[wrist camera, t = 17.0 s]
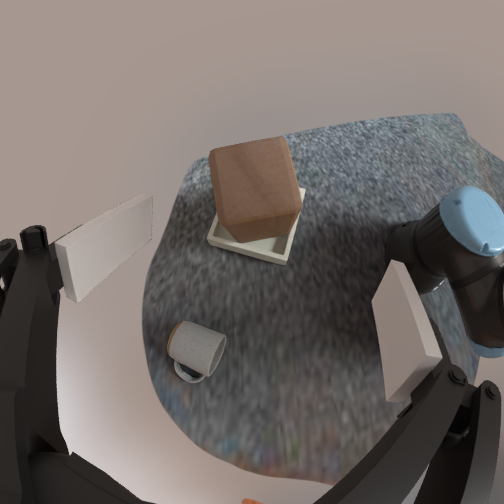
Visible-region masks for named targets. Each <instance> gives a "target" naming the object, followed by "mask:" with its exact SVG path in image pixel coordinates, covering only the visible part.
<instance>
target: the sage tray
mask: <svg viewBox="0 0 504 504" xmlns="http://www.w3.org/2000/svg"><path fill="white" fill-rule="evenodd" d="M299 190H300V194H301V199H302V202H303V198H304V194H305V190H306V189H303V188H299ZM299 214H300V213H299ZM298 218H299V215H298V217H297V219H296V221H295V223H294V225H293V227H292V229H291V231H290V233H289V234H287V235H283V236H278V237H273V238H267V239H262V240H257V241H252V242H246V243H239V242H237V240H236V239H235V238H234V237H233V236H232V235H231V234H230V233H229V232H228V231H227V230H226V229H225V228H224V227H223V225H222V224H221V223H220V221H219V220H218V216H217V212H216V215H215V218H214V220H213V223H212V226H211V228H210V231H209V234H208V236H207V240H208V242H209V244H210V245H212V246H216V247H219V248H223V249H226V250H230V251H233V252H237V253H240V254H244V255H248V256H251V257H255V258H258V259H262V260H265V261H269V262H273V263H276V264H280V265H283V266H286V263H287V260H288V256H289V252H290V249H291V245H292V241H293V237H294V234H295V230H296V226H297V222H298Z"/></svg>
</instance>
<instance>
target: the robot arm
mask: <svg viewBox="0 0 504 504" xmlns="http://www.w3.org/2000/svg"><path fill="white" fill-rule="evenodd" d="M152 208H153V195H149V194H144V193H141V194H139V195H137V196H135V197H133V198H131V199H129V200H127V201H125V202H123V203H121V204H119V205H118V206H116V207H114V208H112V209H110V210H108V211H107V212H105V213H103V214H101V215H99V216H98V217H96V218H94V219H92V220H90V221H89V222H87V223H85V224H83V225H80V226H79V227H77V228H75V229H74V230H73V231H71V232H69V233H67V234H65V235H64V236H62V237H60V238H59V239H57V240H56V241H54V242H53V243H51V244H50V245H48V240H47V233H46V228H45V227H44V226H41V225H35V226H30V227H28V228H26V229H24V230H23V231H22V232H21V233H20V238H21V243H22V248H23V250H19V249H18V248H17V243H16V240H14V239H4V240H2V241H1V242H0V278H1V277H2V279H3V282H4V285H5V286H4V288H3V289H2V288H1V286H0V504H155V503H150V502H146V501H142V500H140V499H139V498H138V497H136V496H135V495H134V494H132V493H131V492H130V491H129V490H127V489H126V488H125V487H124V486H122V485H121V484H119V483H118V482H117V481H115V480H114V479H113V478H112V477H110V476H109V475H108V474H106V473H105V472H104V471H102V470H101V469H99V468H97V467H96V466H94V465H92V464H91V463H89V462H87V461H86V460H85V459H83V458H82V457H80V456H78V455H77V454H76V453H74V452H72V454H71V455H69V452H68V448H67V445H66V442H65V440H64V438H63V436H62V433H61V430H60V425H59V416H58V403H57V387H56V386H57V384H56V347H57V327H58V314H59V305H60V293H59V290H60V289H61V288H62V287H63V286H64V289H65V293H66V296H67V298H69V299H71V300H73V301H75V302H77V303H78V302H79V301H81V300H82V299H83V298H84V297H85V296H86V295H87V294H88V293H89V292H90V291H91V290H93V289H94V288H95V287H96V286H97V285H98V284H99V283H100V282H102V281H103V280H104V279H105V278H106V277H107V276H108V275H110V274H111V273H112V272H113V271H114V270H115V269H116V268H118V267H119V266H120V265H121V264H122V263H124V262H125V261H126V260H127V259H128V258H130V257H131V256H132V255H133V254H134V253H136V251H138V250H139V249H140V248H142V247H143V246H144V245H145V244H147V243H148V242H149V241H150V240H152ZM385 260H386V265H387V270H386V273H385V275H384V277H383V279H382V281H381V283H380V285H379V287H378V289H377V291H376V293H375V295H374V297H373V299H372V301H371V302H372V307H373V312H374V317H375V322H376V328H377V334H378V340H379V346H380V353H381V359H382V367H383V375H384V383H385V393H386V401H388V402H397V403H402V402H403V401H404V400H405V399H406V398H407V397H408V396H409V395H410V394H411V400H412V402H411V403H410V404H409V405H408V406H407V407H406V408H405V409H404V410H403V411H402V412H401V413H400V414H399V415H398V416H397V417H398V419H397V420H396V422H395V423H394V424H393V425H392V427H391V428H390V429H389V430H388V431H387V433H386V434H385V435H384V436H383V437H382V438H381V440H380V441H379V442H378V443H377V444H376V445H375V446H374V447H373V449H372V450H371V451H370V452H369V453H368V454H367V455H366V456H365V457H364V458H363V459H362V460H361V461H360V462H359V463H358V464H357V465H356V466H355V467H354V468H353V469H352V470H351V471H350V472H349V473H348V474H347V475H346V476H345V477H344V478H343V479H342V480H341V481H339V482H338V483H337V484H336V485H335V486H334V487H333V488H332V489H330V490H329V491H328V492H327V493H326V494H325V495H323V496H322V497H321V498H320V499H318V500H317V501H316V502H315V503H313V504H401V503H402V502H403V500H404V499H405V498H406V496H407V495H408V494H409V492H410V491H411V489H412V488H413V487H414V485H415V484H416V483H417V481H418V480H419V478H420V477H421V475H422V474H423V472H424V471H425V469H426V468H427V466H428V464H429V463H430V464H429V467H428V470H427V472H426V475H425V478H424V480H423V483H422V485H421V488H420V490H419V493H418V495H417V497H416V499H415V502H414V504H488V502H489V498H490V494H491V489H492V485H493V480H494V475H495V469H496V463H497V456H498V448H499V438H500V425H501V423H500V422H501V394H500V392H499V389H498V387H497V386H496V385H495V384H494V383H493V382H491V381H488V380H486V381H484V382H483V383H482V384H481V385H480V386H479V387H478V388H477V387H475V386H473V385H470V384H468V380H467V376H466V375H465V373H464V372H463V370H462V369H461V368H459V367H458V366H456V365H453V364H452V363H451V361H450V358H449V355H448V352H447V349H446V346H445V344H444V343H443V342H444V341H443V338H442V337H441V333H440V331H439V328H438V326H437V325H436V324H435V322H434V321H433V320H432V318H428V316H427V314H426V312H425V309H424V307H423V304H422V302H421V300H420V297H419V295H423V294H426V293H429V292H432V291H434V290H435V289H437V288H438V287H439V286H440V285H441V284H442V282H443V281H444V279H445V278H447V279H448V281H449V284H450V286H451V289H452V291H453V294H454V297H455V300H456V302H457V305H458V308H459V311H460V314H461V317H462V320H463V323H464V327H465V330H466V335H467V337H468V339H469V340H470V343H471V346H472V348H473V350H474V352H475V353H476V354H478V355H479V356H481V357H485V358H497V357H502V356H504V215H503V213H502V211H501V209H500V208H499V206H498V205H497V203H496V202H495V201H494V200H493V199H492V198H491V197H490V196H489V195H488V194H487V193H486V192H484V191H481V190H480V189H479V188H477V187H474V186H462V187H459V188H457V189H456V190H455V191H453V192H452V193H451V194H448V195H446V196H445V197H444V198H443V200H442V201H441V202H440V203H439V204H438V205H437V206H436V207H434V208H433V209H432V210H431V211H430V212H429V213H428V214H426V215H425V216H424V217H423V218H422V219H420V220H414V221H409V222H406V223H403V224H402V225H400V226H399V227H398V228H396V229H395V230H394V231H393V232H392V233H391V235H390V236H389V238H388V241H387V243H386V248H385ZM467 432H468V433H467Z"/></svg>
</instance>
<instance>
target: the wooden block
mask: <svg viewBox="0 0 504 504" xmlns="http://www.w3.org/2000/svg"><path fill="white" fill-rule="evenodd" d="M209 165H210V171H211V178H212V185H213V191H214V197H215V204H216V210H217V216H218V220H219V221H220V223H221V224H222V225H223V227H224V228H225V229H226V230H227V231H228V232H229V233H230V234H231V235H232V236H233V237H234V238H235V239H236V240H237V242H239V243H246V242H252V241H257V240H262V239H267V238H273V237H278V236H283V235H287V234H289V233H290V231H291V229H292V227H293V225H294V223H295V221H296V219H297V217H298V215H299V213H300V211H301V208H302V199H301V194H300V190H299V186H298V182H297V178H296V174H295V170H294V166H293V162H292V158H291V154H290V150H289V146H288V143H287V142H286V140H285V139H284V137H274V138H268V139H262V140H256V141H251V142H246V143H240V144H235V145H230V146H226V147H221V148H216V149H213V150H212V151H210V155H209Z"/></svg>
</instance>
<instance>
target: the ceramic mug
mask: <svg viewBox="0 0 504 504" xmlns="http://www.w3.org/2000/svg"><path fill="white" fill-rule="evenodd" d="M225 344H226V336H225V335H224V334H221V333H218V332H216V331H213V330H211V329H208V328H206V327H203V326H200V325H198V324H196V323H193V322H190V321H181V322H179V323H178V324H177V325H176V326H175V328H174V329H173V331H172V333H171V335H170V337H169V340H168V344H167V352H168V354H169V356H170V357H172V358H173V359H174V360H175V362H174V366H175V370H176V372H177V374H178V375H179V376H180V377H181V378H182V379H184V380H185V381H187V382H190V383H197V382H200V381H201V380H203V379H204V377H205V376H207V377H209V376H211V374H212V373H213V372H214V370H215V369H216V367H217V365H218V363H219V360H220V358H221V356H222V353H223V351H224V348H225ZM180 363H181V364H184V365H186V366H188V367H189V368H191V369H193V370H195V371H197V372H199V373H201V374H203V376H202V377H200V378H194V377H192V376H190V375H188V374H187V373H185V372H184V371H182V369H181V367H180Z"/></svg>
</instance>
